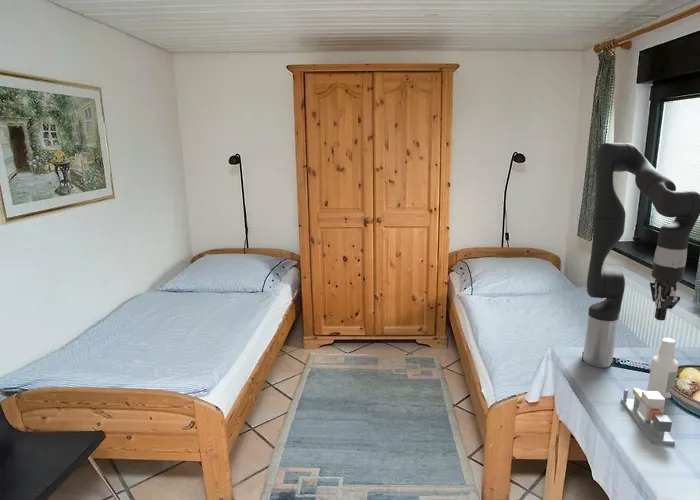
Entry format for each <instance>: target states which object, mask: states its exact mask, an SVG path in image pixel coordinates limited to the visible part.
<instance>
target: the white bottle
mask: <svg viewBox="0 0 700 500" xmlns="http://www.w3.org/2000/svg"><path fill="white" fill-rule="evenodd" d="M676 342H677V341H676V339H673V338H670V337H662V340H661V343H660V345H659V351H658V354H656V355H654V356H652V359H651V363H650V364H651V365H650V370H649V376H648V377H649V378H648V384H647V391H658V392H659V393H660V394H661V395H662V396H663V397H664V399H671V398H672V397H671V394H670V388H671V387H673V386H675V385H676V380H677V375H678V369H679V362H678V360H677V359H676V358H675V353H676Z"/></svg>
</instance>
